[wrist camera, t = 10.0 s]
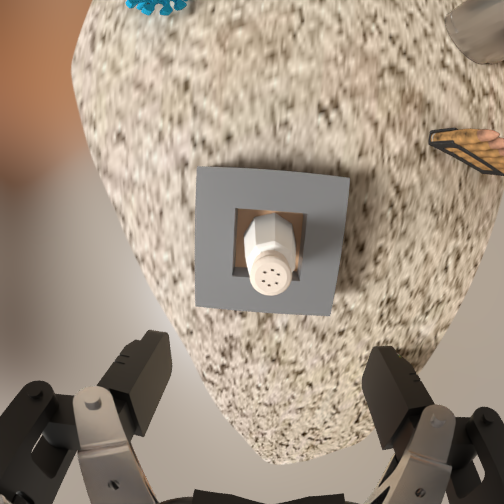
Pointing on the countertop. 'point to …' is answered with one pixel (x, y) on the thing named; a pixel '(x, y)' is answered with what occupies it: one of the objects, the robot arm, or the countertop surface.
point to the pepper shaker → (270, 253)
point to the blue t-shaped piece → (149, 8)
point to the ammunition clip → (472, 148)
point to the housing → (239, 218)
